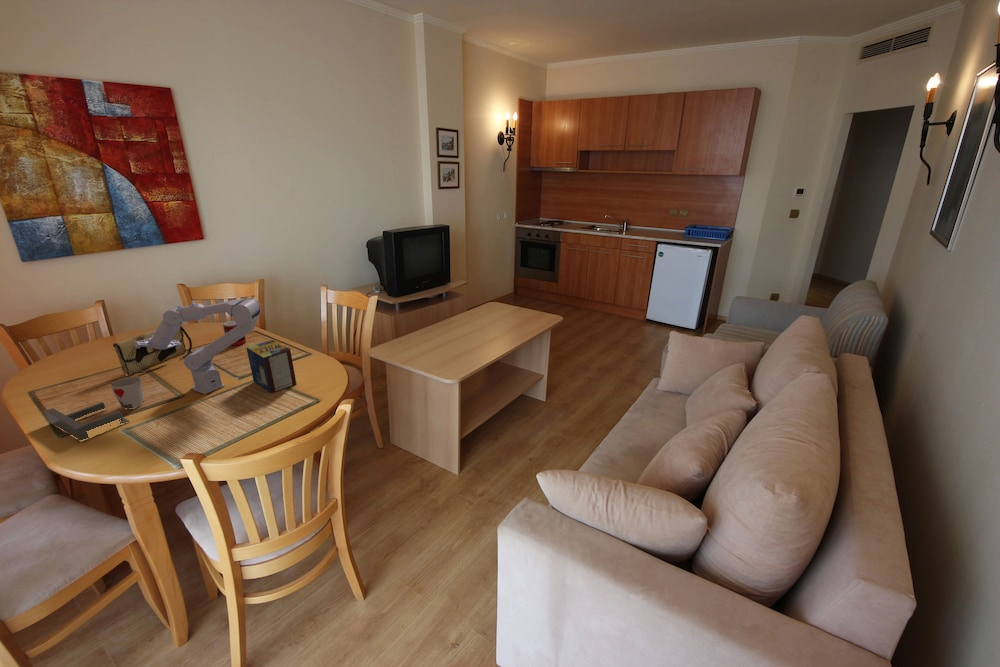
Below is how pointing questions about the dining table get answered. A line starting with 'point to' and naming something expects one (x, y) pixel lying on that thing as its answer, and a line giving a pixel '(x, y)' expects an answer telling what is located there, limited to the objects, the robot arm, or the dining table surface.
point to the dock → (69, 420)
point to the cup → (128, 391)
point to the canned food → (230, 326)
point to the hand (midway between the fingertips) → (148, 360)
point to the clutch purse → (128, 350)
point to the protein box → (271, 365)
